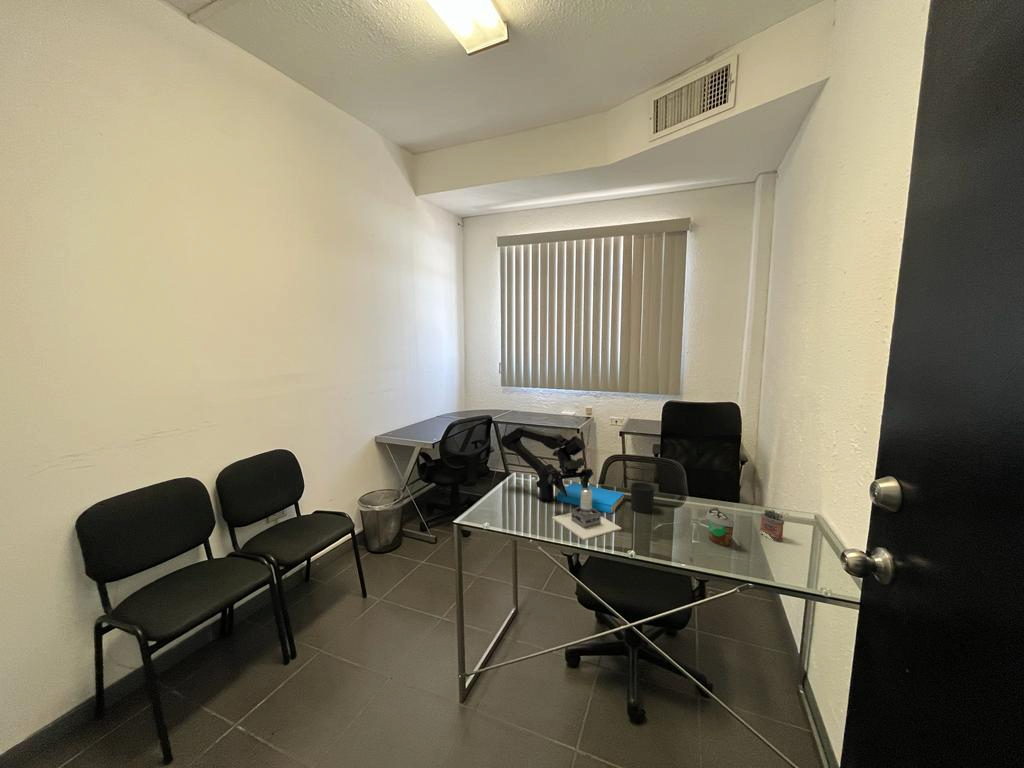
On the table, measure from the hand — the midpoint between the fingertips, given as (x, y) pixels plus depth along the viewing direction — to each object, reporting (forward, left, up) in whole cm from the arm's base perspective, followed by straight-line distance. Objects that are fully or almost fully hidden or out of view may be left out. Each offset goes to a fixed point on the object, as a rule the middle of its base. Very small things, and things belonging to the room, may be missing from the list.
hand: (576, 495), depth 162 cm
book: (-10, +15, -9) cm, 20 cm away
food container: (+40, +32, -9) cm, 52 cm away
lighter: (+48, +52, -9) cm, 71 cm away
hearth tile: (+8, -1, -9) cm, 12 cm away
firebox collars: (+8, -1, -9) cm, 12 cm away
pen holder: (+8, +29, -9) cm, 31 cm away
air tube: (+8, -1, -8) cm, 11 cm away
